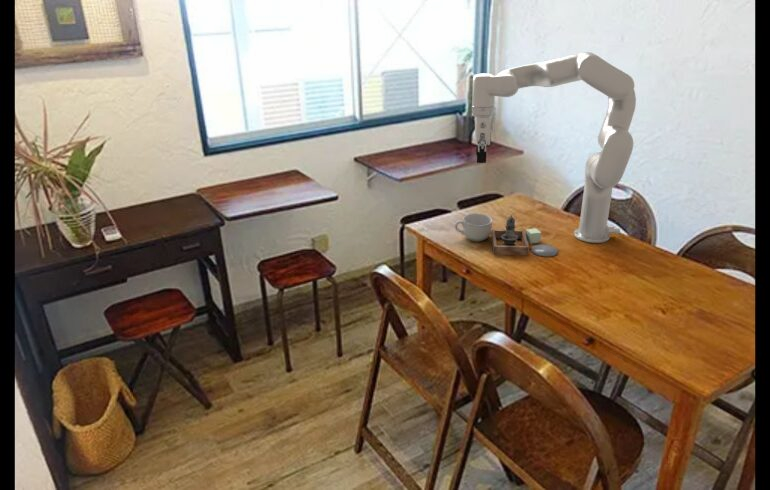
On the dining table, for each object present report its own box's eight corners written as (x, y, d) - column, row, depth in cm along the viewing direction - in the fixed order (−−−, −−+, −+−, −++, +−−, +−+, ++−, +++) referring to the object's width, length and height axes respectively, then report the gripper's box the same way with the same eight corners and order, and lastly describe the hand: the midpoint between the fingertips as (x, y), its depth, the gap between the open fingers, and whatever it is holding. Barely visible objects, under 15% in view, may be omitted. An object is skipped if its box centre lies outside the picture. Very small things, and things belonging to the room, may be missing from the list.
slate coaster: (555, 246, 206) (555, 244, 206) (559, 257, 198) (559, 255, 198) (530, 245, 207) (530, 244, 207) (532, 256, 199) (533, 254, 199)
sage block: (535, 238, 214) (536, 228, 212) (540, 242, 210) (541, 232, 208) (525, 239, 213) (526, 229, 211) (530, 243, 209) (531, 233, 208)
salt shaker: (518, 243, 209) (520, 212, 204) (516, 250, 204) (518, 219, 199) (502, 241, 211) (504, 211, 206) (499, 248, 206) (501, 217, 201)
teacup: (490, 232, 219) (491, 213, 216) (492, 244, 209) (493, 224, 206) (453, 232, 220) (454, 212, 217) (454, 243, 211) (454, 223, 207)
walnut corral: (523, 237, 214) (524, 230, 213) (528, 255, 200) (528, 247, 199) (491, 236, 215) (491, 229, 214) (493, 254, 202) (493, 246, 201)
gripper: (495, 116, 190) (492, 165, 197) (492, 105, 205) (490, 152, 213) (472, 116, 191) (470, 165, 198) (471, 105, 206) (470, 152, 213)
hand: (480, 158), depth 205 cm, fingers open, 9 cm apart
